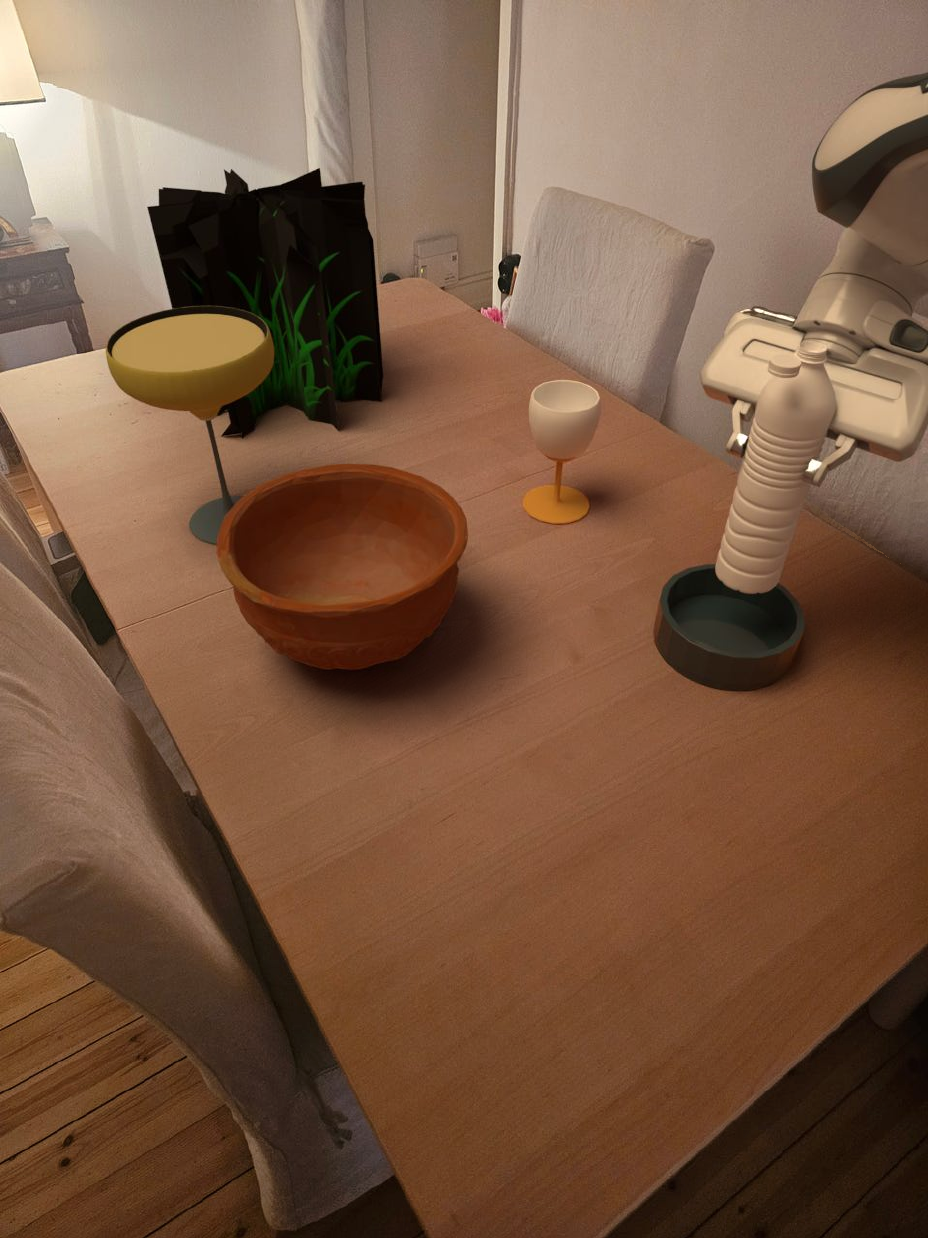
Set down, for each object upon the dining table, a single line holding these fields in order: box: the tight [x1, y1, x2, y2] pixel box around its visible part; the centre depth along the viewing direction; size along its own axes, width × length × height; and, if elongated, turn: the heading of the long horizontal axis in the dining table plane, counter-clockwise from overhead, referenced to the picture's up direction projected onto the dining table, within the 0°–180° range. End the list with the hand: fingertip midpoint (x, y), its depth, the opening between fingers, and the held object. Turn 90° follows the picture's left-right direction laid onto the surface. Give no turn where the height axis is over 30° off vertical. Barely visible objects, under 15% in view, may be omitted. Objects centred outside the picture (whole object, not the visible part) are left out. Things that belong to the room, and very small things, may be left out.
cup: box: [521, 379, 602, 525], centre depth 105 cm, size 9×9×16 cm
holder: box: [653, 563, 806, 692], centre depth 90 cm, size 15×15×5 cm
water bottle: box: [715, 341, 836, 594], centre depth 77 cm, size 9×6×25 cm
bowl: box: [216, 463, 469, 671], centre depth 87 cm, size 25×25×15 cm
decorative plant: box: [146, 167, 384, 440], centre depth 123 cm, size 29×30×30 cm
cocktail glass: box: [105, 306, 274, 545], centre depth 100 cm, size 18×18×25 cm
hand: (771, 468), depth 75 cm, fingers closed on water bottle, 6 cm apart
